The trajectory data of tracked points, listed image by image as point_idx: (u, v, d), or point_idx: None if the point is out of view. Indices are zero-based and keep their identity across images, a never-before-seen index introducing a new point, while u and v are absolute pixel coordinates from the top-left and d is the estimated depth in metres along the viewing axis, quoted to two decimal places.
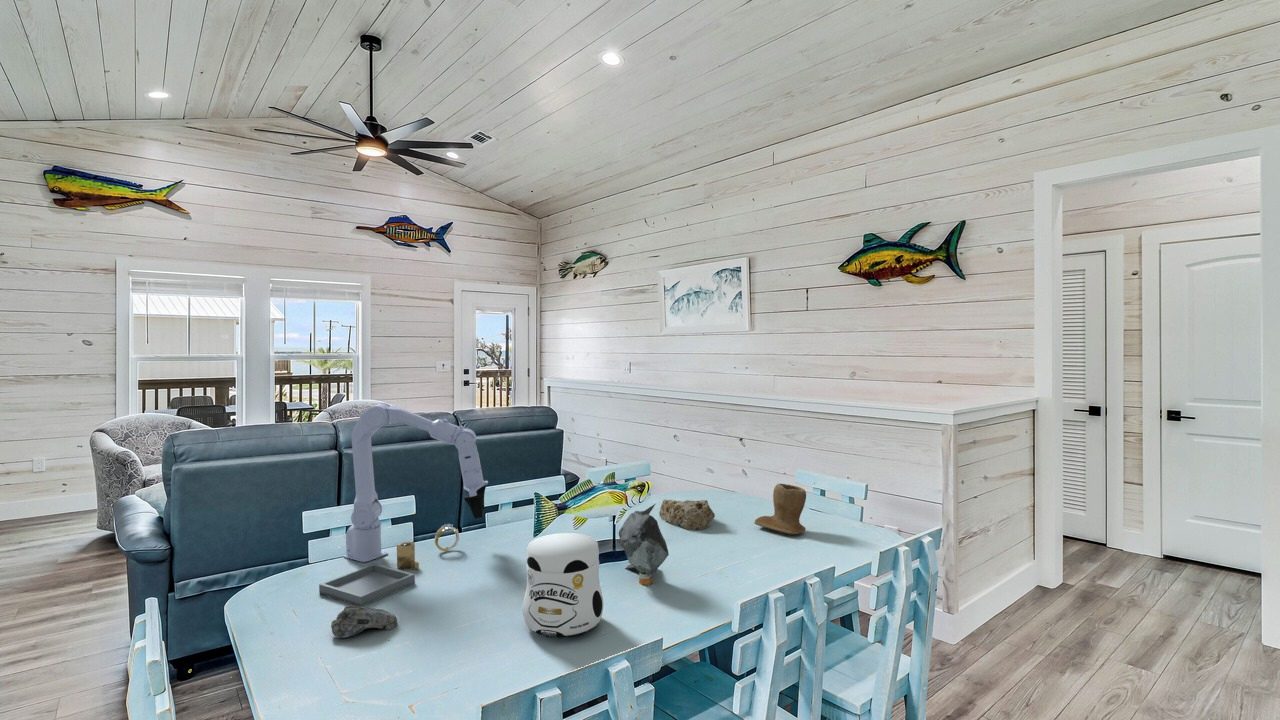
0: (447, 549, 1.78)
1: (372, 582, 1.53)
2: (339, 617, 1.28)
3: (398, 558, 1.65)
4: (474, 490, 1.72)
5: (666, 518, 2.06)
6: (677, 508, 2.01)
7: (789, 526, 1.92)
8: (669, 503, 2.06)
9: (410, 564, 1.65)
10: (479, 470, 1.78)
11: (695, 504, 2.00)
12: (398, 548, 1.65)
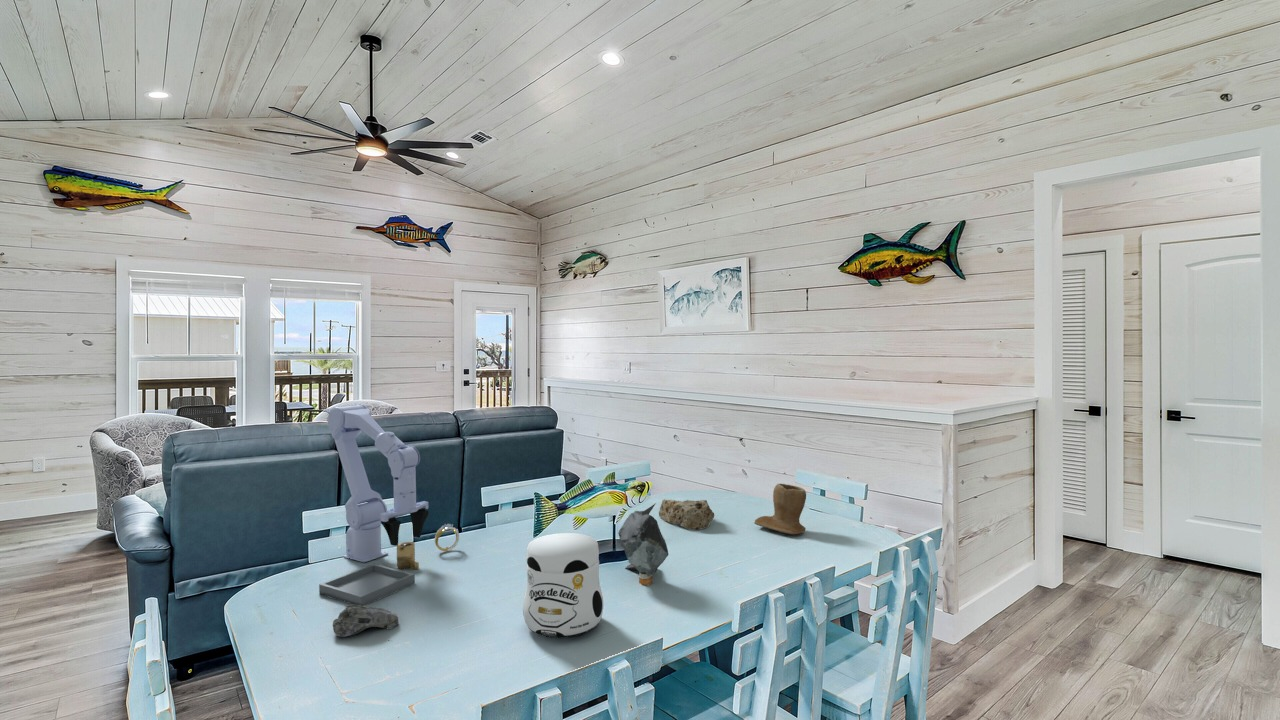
0: (447, 549, 1.78)
1: (372, 582, 1.53)
2: (341, 616, 1.28)
3: (398, 558, 1.65)
4: (384, 515, 1.60)
5: (666, 518, 2.06)
6: (677, 508, 2.01)
7: (789, 526, 1.92)
8: (669, 503, 2.06)
9: (410, 564, 1.65)
10: (406, 495, 1.64)
11: (695, 504, 2.00)
12: (398, 548, 1.65)
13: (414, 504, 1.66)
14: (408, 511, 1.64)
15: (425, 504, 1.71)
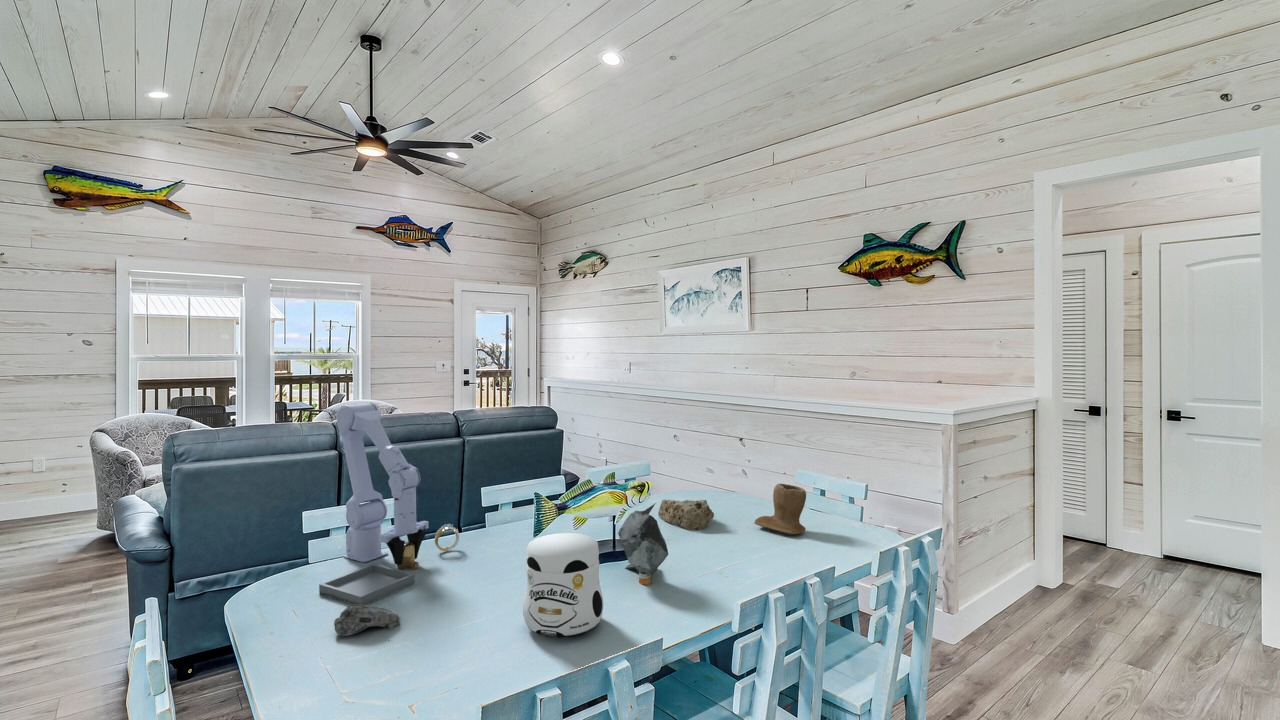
0: (447, 549, 1.78)
1: (372, 582, 1.53)
2: (342, 615, 1.29)
3: None
4: (384, 537, 1.60)
5: (665, 518, 2.06)
6: (676, 508, 2.02)
7: (789, 526, 1.92)
8: (668, 503, 2.06)
9: (410, 564, 1.65)
10: (407, 516, 1.64)
11: (694, 504, 2.00)
12: None
13: (414, 524, 1.66)
14: (408, 532, 1.64)
15: (425, 524, 1.71)
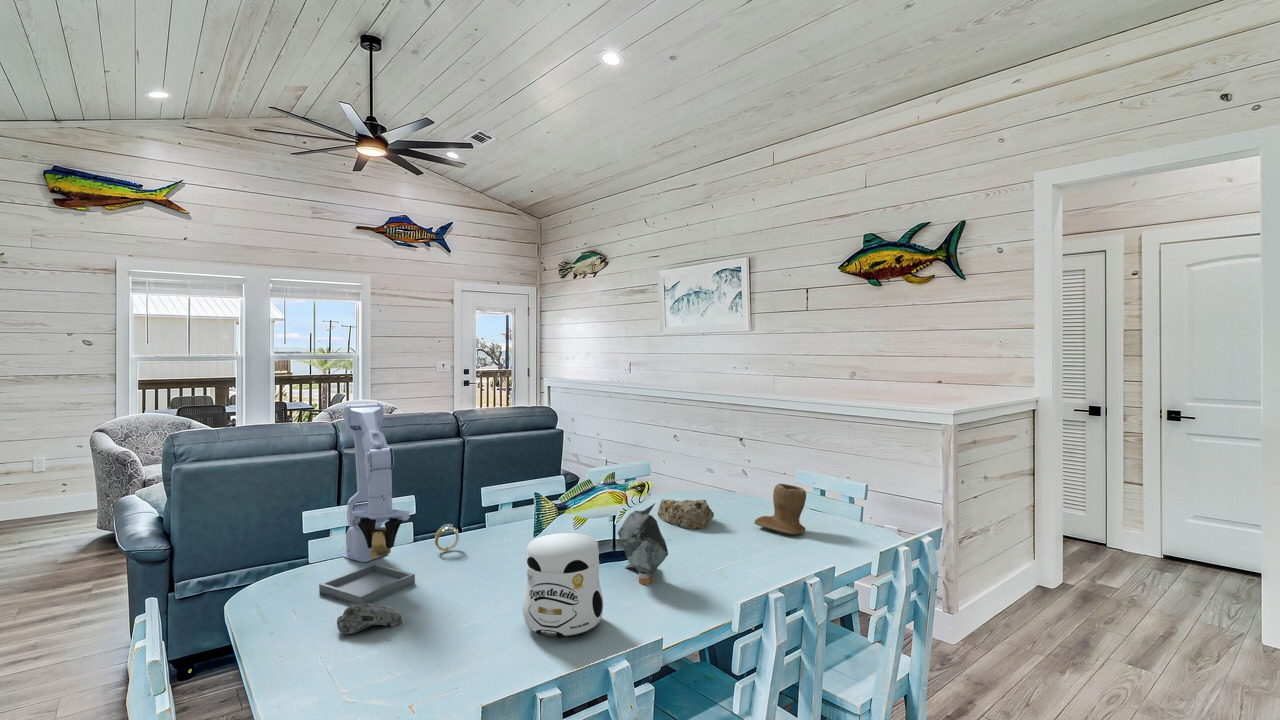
0: (447, 549, 1.78)
1: (372, 582, 1.53)
2: (345, 613, 1.30)
3: None
4: None
5: (665, 518, 2.06)
6: (676, 508, 2.02)
7: (789, 526, 1.92)
8: (668, 503, 2.06)
9: None
10: (369, 499, 1.54)
11: (694, 504, 2.00)
12: None
13: (378, 510, 1.53)
14: (369, 516, 1.53)
15: (401, 514, 1.55)
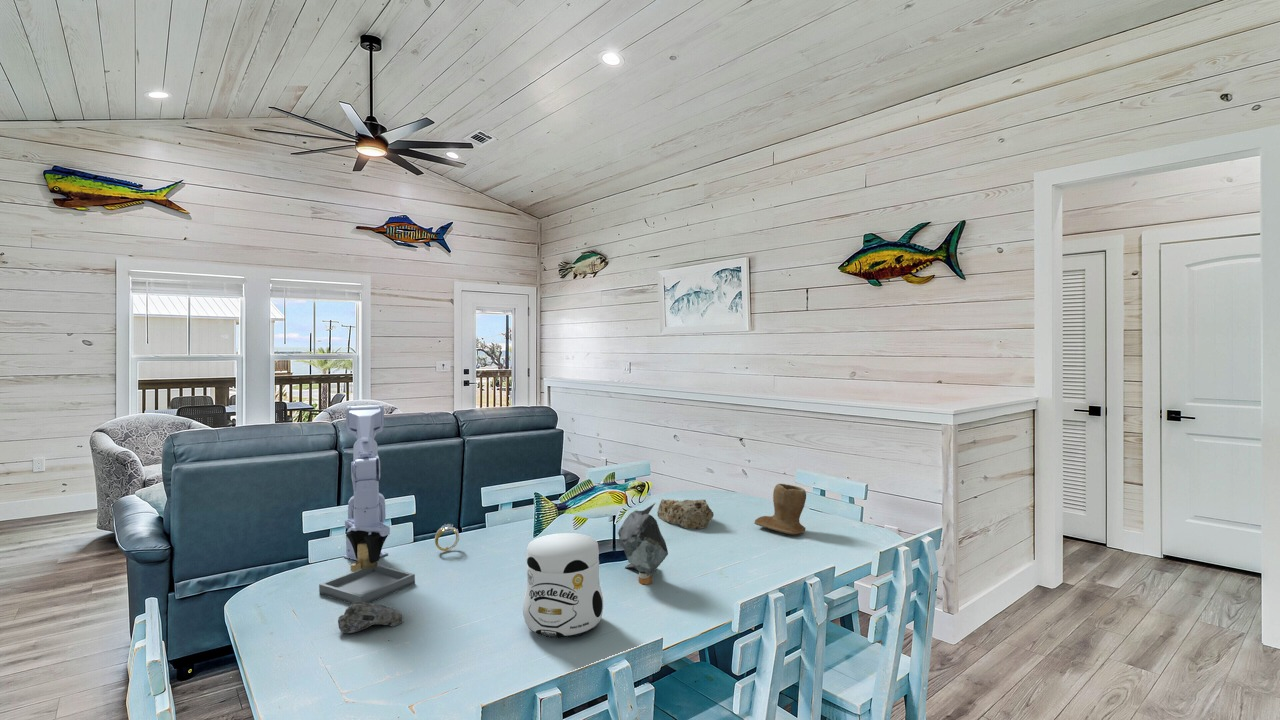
0: (447, 549, 1.78)
1: (372, 582, 1.53)
2: (346, 612, 1.30)
3: None
4: None
5: (665, 518, 2.06)
6: (676, 508, 2.02)
7: (789, 526, 1.92)
8: (668, 503, 2.06)
9: None
10: (354, 509, 1.50)
11: (694, 503, 2.01)
12: None
13: (359, 523, 1.48)
14: None
15: (379, 530, 1.47)
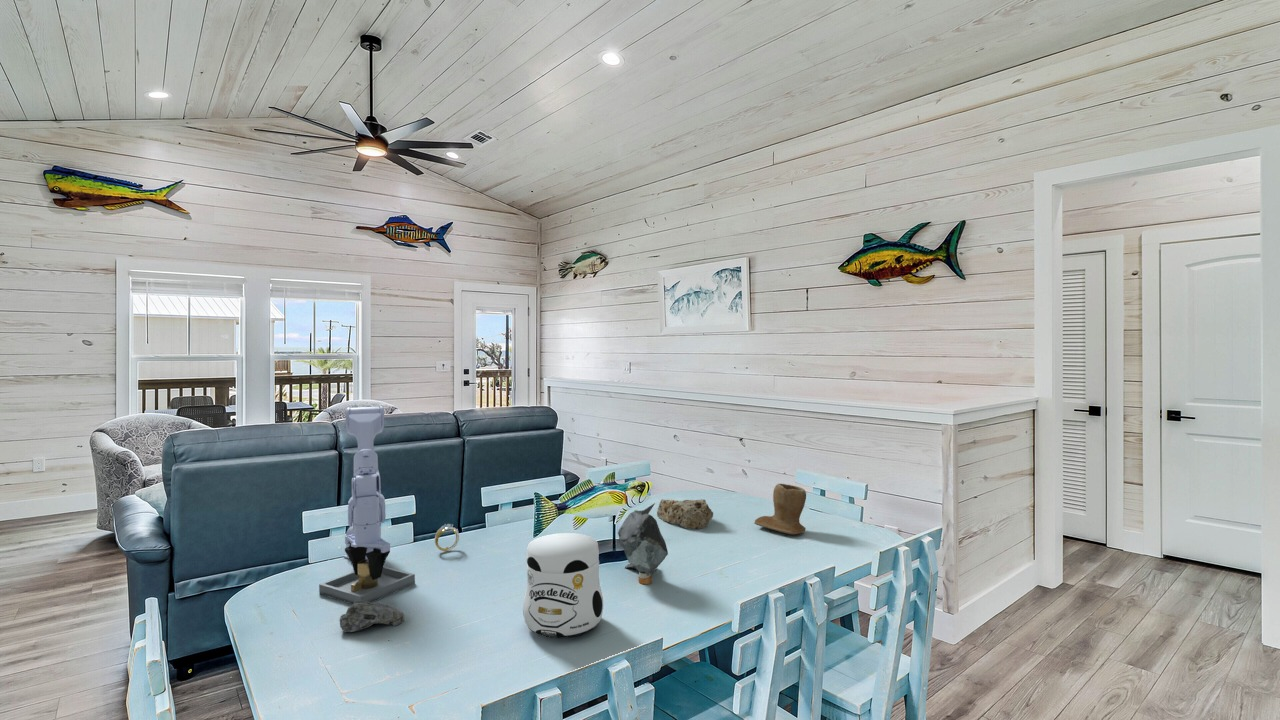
0: (447, 549, 1.78)
1: None
2: (348, 611, 1.31)
3: None
4: None
5: (664, 518, 2.06)
6: (676, 508, 2.02)
7: (789, 526, 1.92)
8: (667, 503, 2.06)
9: None
10: (354, 525, 1.50)
11: (694, 503, 2.01)
12: None
13: (360, 539, 1.48)
14: None
15: (379, 546, 1.47)
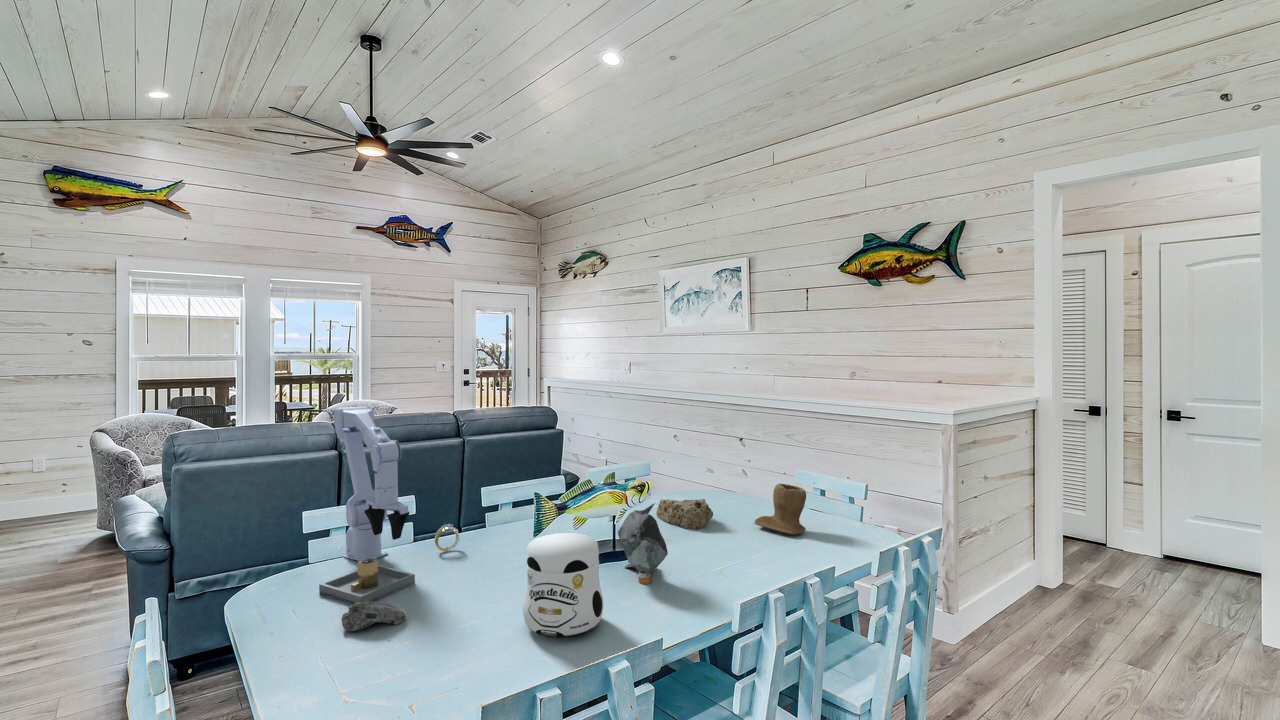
0: (447, 549, 1.78)
1: None
2: (350, 610, 1.31)
3: None
4: None
5: (664, 518, 2.07)
6: (676, 507, 2.02)
7: (789, 526, 1.92)
8: (667, 503, 2.06)
9: None
10: (375, 489, 1.61)
11: (694, 503, 2.01)
12: None
13: (380, 501, 1.60)
14: None
15: (398, 508, 1.59)
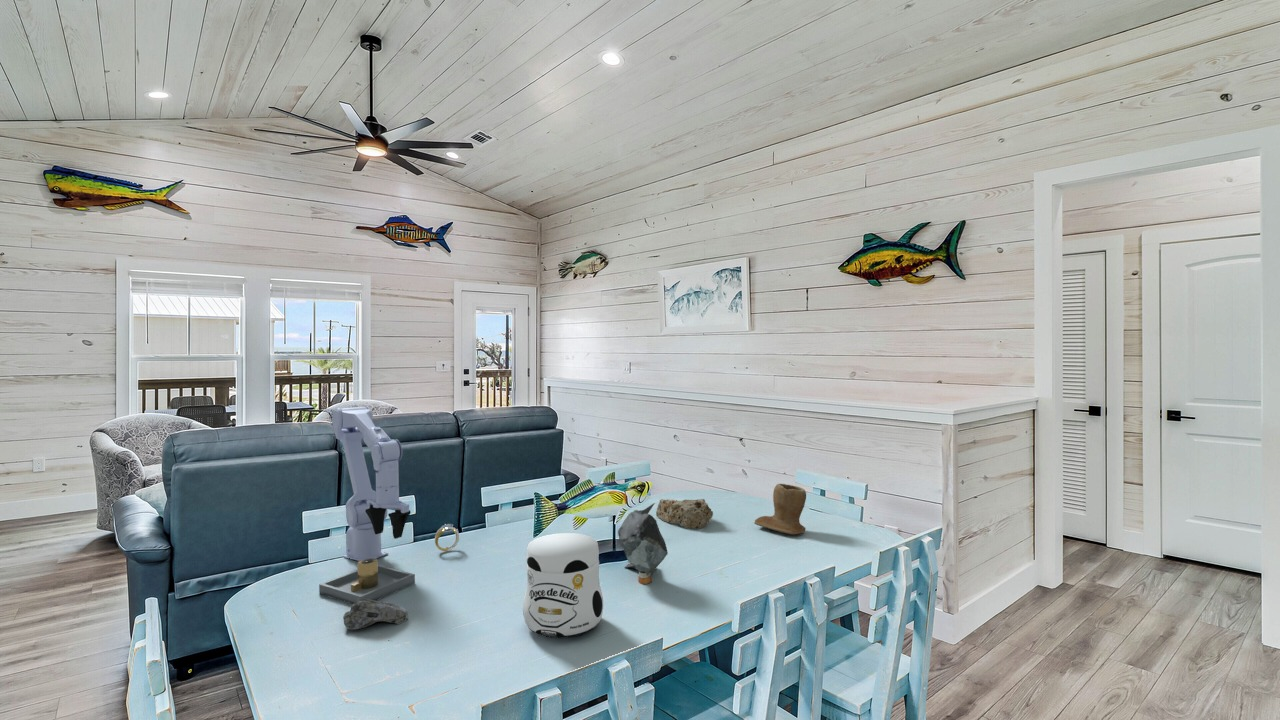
0: (447, 549, 1.78)
1: None
2: (351, 609, 1.32)
3: None
4: None
5: (664, 518, 2.07)
6: (676, 507, 2.02)
7: (789, 526, 1.92)
8: (667, 503, 2.06)
9: None
10: (376, 488, 1.62)
11: (694, 503, 2.01)
12: None
13: (381, 500, 1.61)
14: None
15: (399, 507, 1.60)
